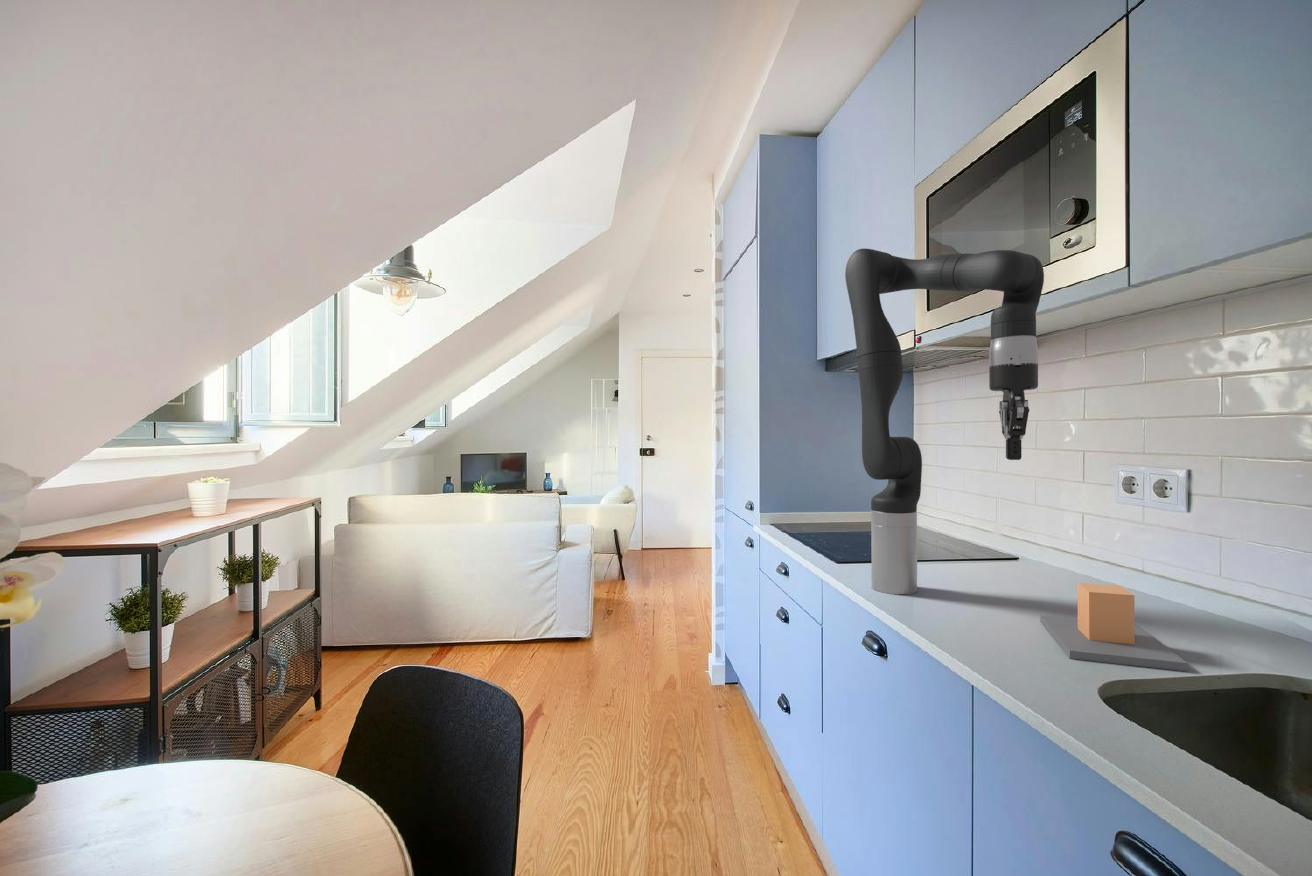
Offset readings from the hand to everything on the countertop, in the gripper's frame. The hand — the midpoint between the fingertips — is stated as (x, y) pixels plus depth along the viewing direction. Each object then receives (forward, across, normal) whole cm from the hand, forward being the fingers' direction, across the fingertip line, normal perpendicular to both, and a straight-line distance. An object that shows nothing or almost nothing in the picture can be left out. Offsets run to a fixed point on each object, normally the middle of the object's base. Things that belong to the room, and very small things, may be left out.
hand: (1013, 459), depth 106 cm
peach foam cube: (+28, +9, +11) cm, 31 cm away
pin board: (+29, +9, +11) cm, 32 cm away
